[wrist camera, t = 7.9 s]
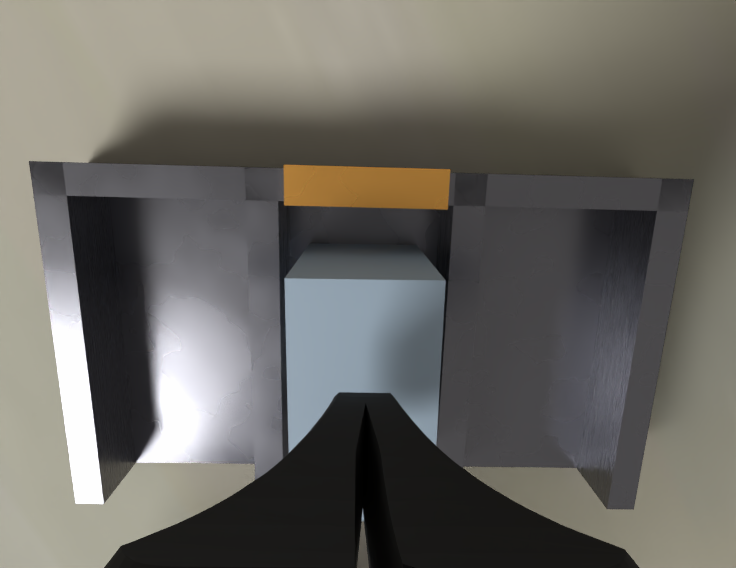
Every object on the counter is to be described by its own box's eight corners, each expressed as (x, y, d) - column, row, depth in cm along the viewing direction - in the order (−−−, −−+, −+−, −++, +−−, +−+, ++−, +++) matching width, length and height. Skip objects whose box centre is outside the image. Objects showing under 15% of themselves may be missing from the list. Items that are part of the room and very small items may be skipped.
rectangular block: (409, 414, 19) (431, 521, 13) (311, 413, 19) (290, 520, 13) (416, 245, 17) (445, 280, 12) (309, 243, 17) (284, 278, 11)
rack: (594, 454, 21) (646, 517, 17) (117, 448, 20) (62, 511, 16) (637, 176, 18) (711, 176, 14) (86, 160, 17) (10, 157, 14)
